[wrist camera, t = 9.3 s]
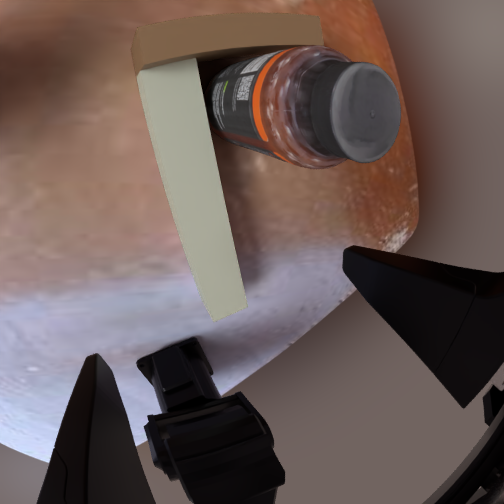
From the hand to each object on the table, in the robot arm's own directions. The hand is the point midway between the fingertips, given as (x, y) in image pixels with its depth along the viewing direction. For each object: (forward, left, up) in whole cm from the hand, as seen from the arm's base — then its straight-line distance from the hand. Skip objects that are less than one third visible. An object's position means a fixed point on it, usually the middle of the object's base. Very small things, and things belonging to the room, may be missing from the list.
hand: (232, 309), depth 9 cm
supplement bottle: (+5, -7, -12) cm, 15 cm away
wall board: (0, -5, -12) cm, 13 cm away
